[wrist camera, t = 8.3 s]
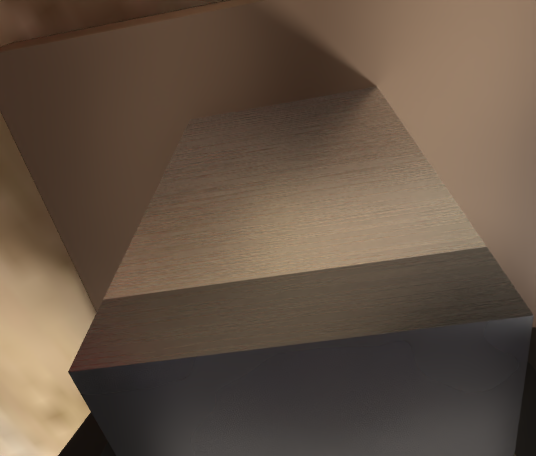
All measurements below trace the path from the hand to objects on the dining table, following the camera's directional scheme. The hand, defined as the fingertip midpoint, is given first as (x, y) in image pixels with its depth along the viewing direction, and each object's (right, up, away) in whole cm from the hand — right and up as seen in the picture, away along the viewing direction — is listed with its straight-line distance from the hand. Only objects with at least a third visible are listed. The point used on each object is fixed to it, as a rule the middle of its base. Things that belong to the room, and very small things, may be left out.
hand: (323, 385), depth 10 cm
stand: (0, +2, +4) cm, 5 cm away
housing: (0, +2, +3) cm, 3 cm away
